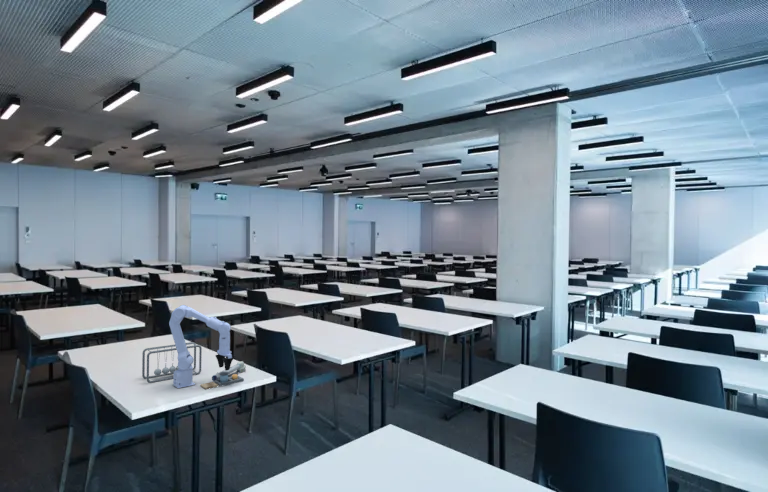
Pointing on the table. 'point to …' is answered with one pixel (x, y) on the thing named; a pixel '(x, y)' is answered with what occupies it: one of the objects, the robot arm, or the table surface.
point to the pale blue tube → (231, 370)
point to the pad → (208, 385)
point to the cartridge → (224, 377)
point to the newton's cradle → (166, 370)
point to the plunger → (235, 376)
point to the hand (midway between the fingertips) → (224, 368)
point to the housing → (229, 381)
